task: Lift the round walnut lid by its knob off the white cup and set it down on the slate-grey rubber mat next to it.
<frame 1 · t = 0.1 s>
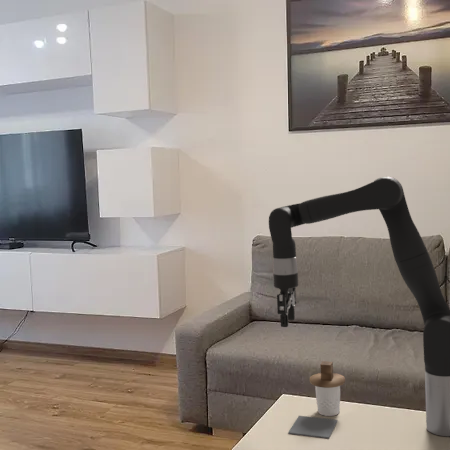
hand: (288, 323, 181), 29 cm above the table, fingers open, 8 cm apart
lid: (327, 381, 183), point 10 cm above the table, touching white cup
mat: (313, 427, 174), on the table
white cup: (328, 412, 184), on the table, touching lid
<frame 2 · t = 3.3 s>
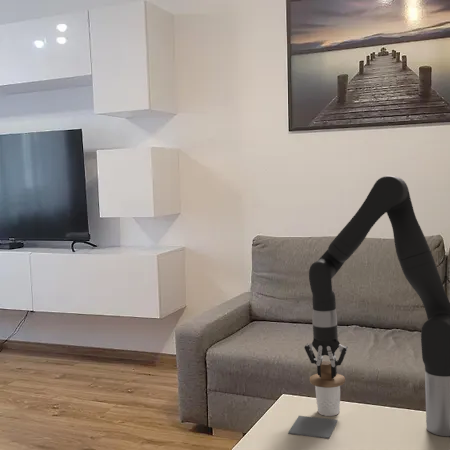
hand: (327, 376, 183), 11 cm above the table, fingers closed on lid, 3 cm apart
lid: (327, 381, 183), point 10 cm above the table, touching white cup, gripper
everything else where it was.
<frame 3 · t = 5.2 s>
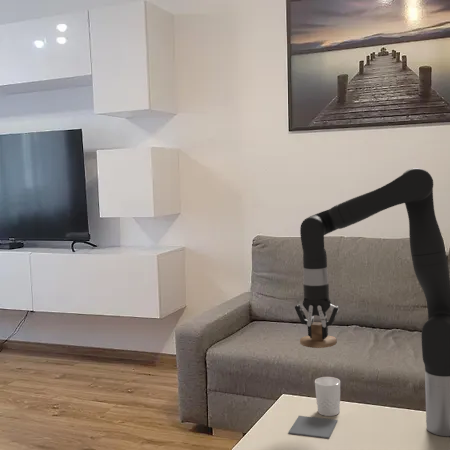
hand: (318, 337, 177), 25 cm above the table, fingers closed on lid, 3 cm apart
lid: (318, 342, 177), point 24 cm above the table, touching gripper
white cup: (328, 412, 184), on the table
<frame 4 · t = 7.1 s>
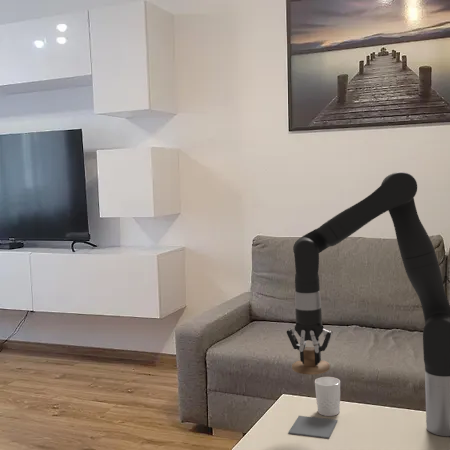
hand: (310, 363, 172), 19 cm above the table, fingers closed on lid, 3 cm apart
lid: (310, 367, 172), point 18 cm above the table, touching gripper
everything else where it was.
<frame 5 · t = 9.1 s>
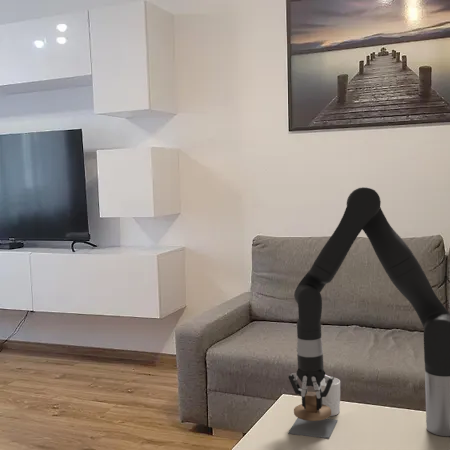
hand: (312, 408, 173), 6 cm above the table, fingers closed on lid, 3 cm apart
lid: (312, 412, 173), point 4 cm above the table, touching gripper
everything else where it was.
when the fingers open (3 cm above the table, at t = 10.7 s): lid stays where it is, resting on mat.
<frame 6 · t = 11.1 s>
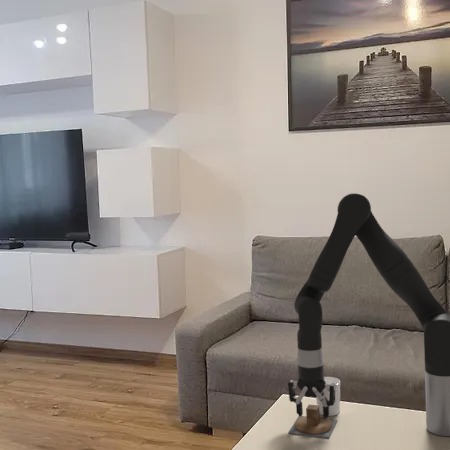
hand: (312, 416, 173), 3 cm above the table, fingers open, 7 cm apart
lid: (313, 425, 173), resting on mat
everything else where it was.
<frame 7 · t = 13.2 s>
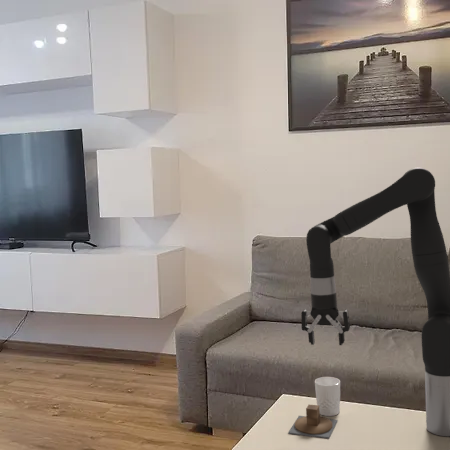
hand: (326, 344, 176), 24 cm above the table, fingers open, 8 cm apart
nothing on the table moved.
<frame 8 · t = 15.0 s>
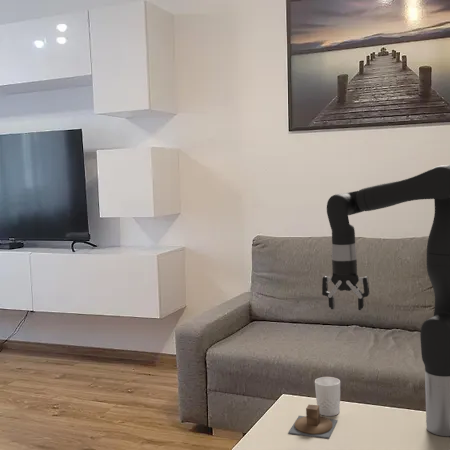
hand: (346, 309, 182), 32 cm above the table, fingers open, 8 cm apart
nothing on the table moved.
at the end: lid inside the target area on the mat (0.1 cm from its centre), point 0.4 cm above the mat's base; lid tilted 0°; lid touching mat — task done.
